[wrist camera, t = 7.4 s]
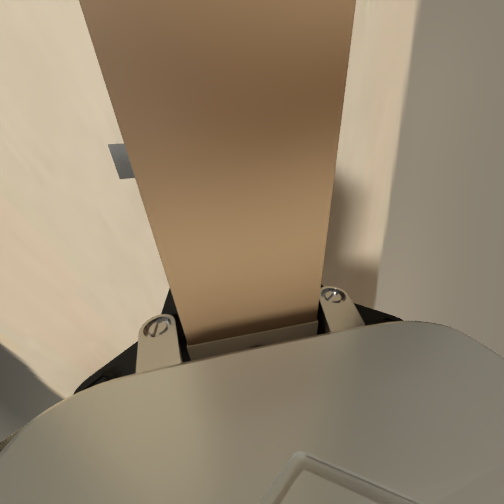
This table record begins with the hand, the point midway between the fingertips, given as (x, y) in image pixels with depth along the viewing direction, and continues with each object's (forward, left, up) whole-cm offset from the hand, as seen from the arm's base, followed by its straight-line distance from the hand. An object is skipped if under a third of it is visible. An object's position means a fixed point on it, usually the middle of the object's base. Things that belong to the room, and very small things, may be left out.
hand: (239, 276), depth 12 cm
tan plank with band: (0, 0, -1) cm, 1 cm away
